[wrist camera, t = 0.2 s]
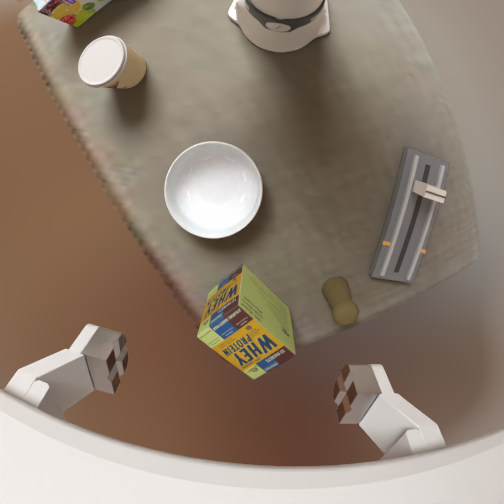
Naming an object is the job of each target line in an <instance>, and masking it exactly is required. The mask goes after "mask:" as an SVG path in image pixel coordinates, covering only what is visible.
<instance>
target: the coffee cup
mask: <svg viewBox="0 0 504 504" xmlns="http://www.w3.org/2000/svg"><path fill="white" fill-rule="evenodd" d="M78 72H79V75H80V78H81V79H82V81H83V82H84V83H85V84H86V85H88V86H90V87H95V88H98V87H105V88H122V89H126V88H131V87H133V86H135V85H137V84H138V83H139V82H140V81H141V80H142V78H143V77H144V75H145V72H146V62H145V60H144V58H143V57H142V56H141V55H140V54H139V53H138V52H136V51H135V50H134V49H132V48H131V47H130V46H128V45H127V44H126V43H124V42H123V41H122V40H121V39H120V38H118V37H116V36H104V37H100V38H98V39H96V40H94V41H93V42H91V43H90V44H89V45H88V46H87V47H86V48H85V50H84V51H83V53H82V55H81V57H80V59H79V64H78Z"/></svg>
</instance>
